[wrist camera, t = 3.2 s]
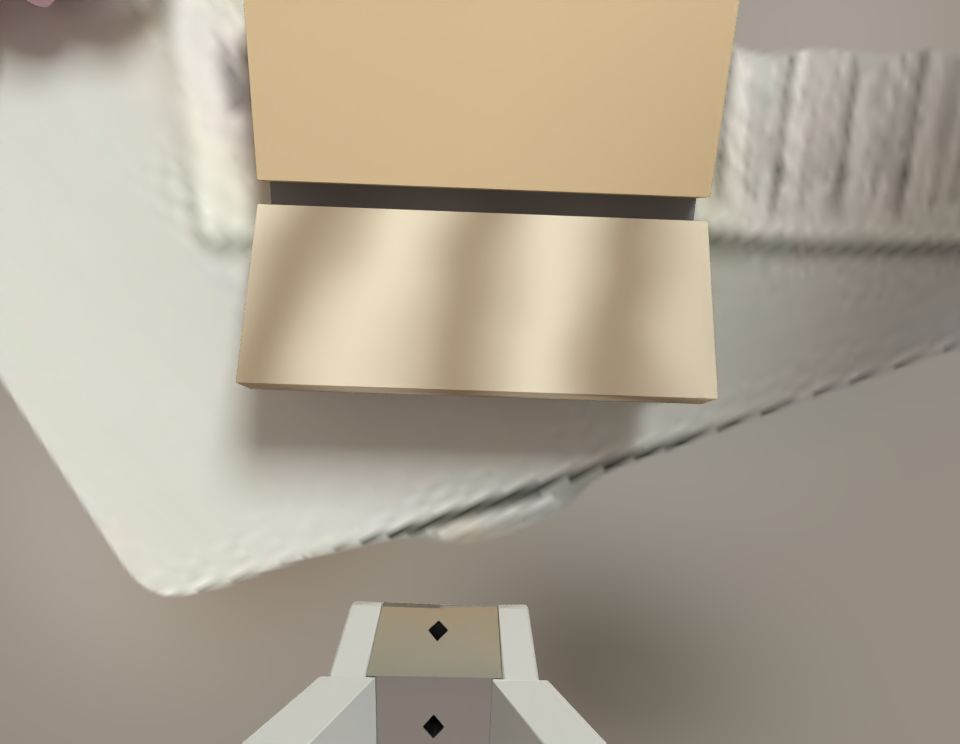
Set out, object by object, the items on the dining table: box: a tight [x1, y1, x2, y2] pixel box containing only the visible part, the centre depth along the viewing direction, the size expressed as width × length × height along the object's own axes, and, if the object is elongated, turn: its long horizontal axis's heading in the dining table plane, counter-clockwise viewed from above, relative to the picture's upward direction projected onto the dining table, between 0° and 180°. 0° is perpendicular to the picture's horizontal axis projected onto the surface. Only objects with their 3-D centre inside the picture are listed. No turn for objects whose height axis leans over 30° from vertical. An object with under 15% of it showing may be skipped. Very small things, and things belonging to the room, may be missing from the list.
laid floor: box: [244, 0, 739, 221], centre depth 24 cm, size 19×17×2 cm
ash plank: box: [236, 204, 718, 404], centre depth 23 cm, size 19×8×2 cm, turn 88°
